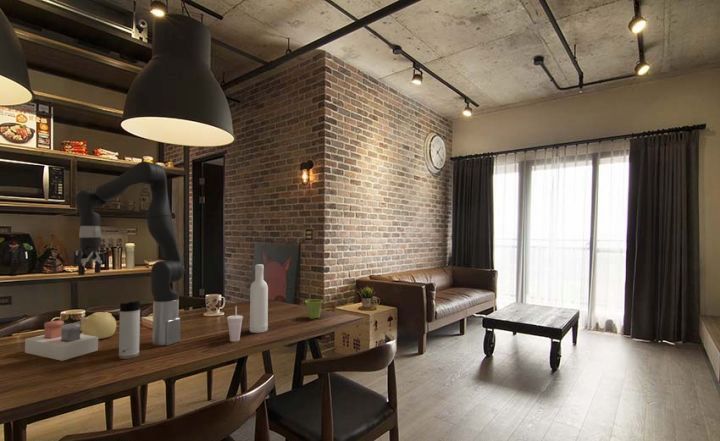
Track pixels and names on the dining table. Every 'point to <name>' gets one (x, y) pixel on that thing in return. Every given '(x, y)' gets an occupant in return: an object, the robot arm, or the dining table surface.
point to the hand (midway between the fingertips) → (89, 273)
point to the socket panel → (61, 347)
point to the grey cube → (70, 332)
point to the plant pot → (314, 308)
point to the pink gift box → (53, 329)
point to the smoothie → (234, 326)
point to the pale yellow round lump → (99, 325)
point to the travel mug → (129, 330)
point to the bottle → (259, 302)
